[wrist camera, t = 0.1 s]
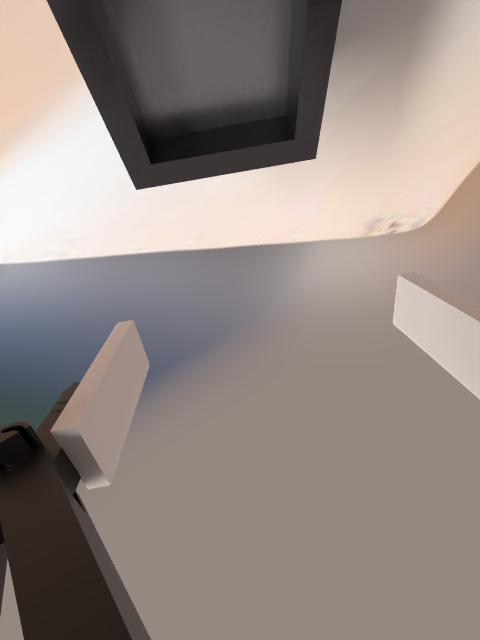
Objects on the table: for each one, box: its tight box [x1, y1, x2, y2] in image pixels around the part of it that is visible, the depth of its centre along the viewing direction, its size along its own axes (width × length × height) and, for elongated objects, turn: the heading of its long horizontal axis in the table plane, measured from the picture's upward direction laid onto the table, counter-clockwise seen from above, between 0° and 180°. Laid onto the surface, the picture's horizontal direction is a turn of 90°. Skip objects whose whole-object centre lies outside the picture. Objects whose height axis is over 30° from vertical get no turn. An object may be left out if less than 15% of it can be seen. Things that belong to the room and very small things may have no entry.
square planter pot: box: [47, 0, 342, 190], centre depth 13 cm, size 9×9×8 cm
